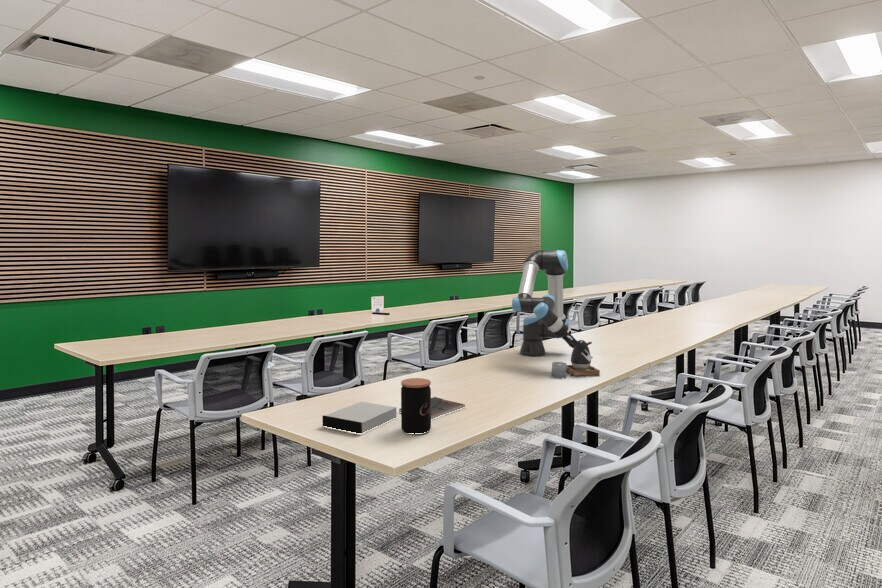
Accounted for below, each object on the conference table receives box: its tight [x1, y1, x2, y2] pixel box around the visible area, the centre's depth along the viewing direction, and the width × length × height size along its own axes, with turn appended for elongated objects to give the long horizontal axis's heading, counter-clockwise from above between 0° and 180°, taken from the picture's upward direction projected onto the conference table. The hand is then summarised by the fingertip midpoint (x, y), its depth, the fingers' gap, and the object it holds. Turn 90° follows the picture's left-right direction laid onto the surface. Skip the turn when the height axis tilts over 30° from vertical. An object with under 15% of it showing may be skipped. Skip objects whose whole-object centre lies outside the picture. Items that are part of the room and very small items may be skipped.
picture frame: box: [398, 396, 466, 419], centre depth 224 cm, size 16×2×22 cm
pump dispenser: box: [570, 339, 593, 370], centre depth 287 cm, size 10×10×15 cm
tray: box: [566, 364, 601, 378], centre depth 288 cm, size 14×14×3 cm
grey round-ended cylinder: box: [551, 361, 567, 380], centre depth 280 cm, size 7×7×7 cm
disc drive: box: [321, 401, 398, 433], centre depth 209 cm, size 18×22×5 cm
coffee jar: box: [400, 377, 432, 434], centre depth 199 cm, size 11×11×18 cm
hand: (587, 357), depth 287 cm, fingers closed on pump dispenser, 9 cm apart
